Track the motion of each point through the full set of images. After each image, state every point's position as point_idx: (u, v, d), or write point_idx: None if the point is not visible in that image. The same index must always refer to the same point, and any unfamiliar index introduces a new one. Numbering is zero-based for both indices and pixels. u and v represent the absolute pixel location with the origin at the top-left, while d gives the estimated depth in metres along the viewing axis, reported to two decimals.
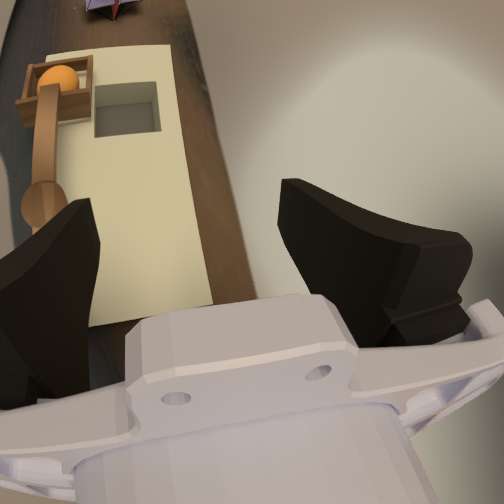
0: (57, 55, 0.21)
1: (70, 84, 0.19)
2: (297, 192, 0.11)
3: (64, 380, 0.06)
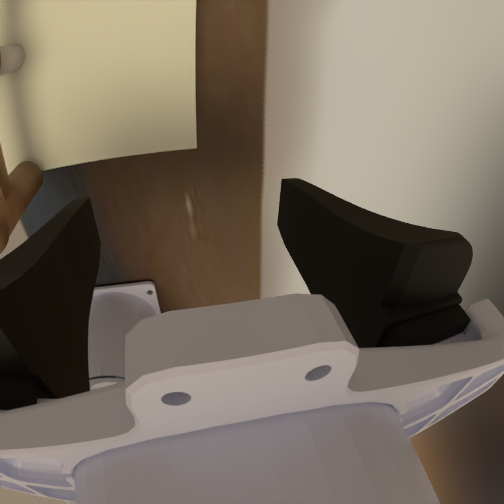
0: None
1: None
2: (298, 192, 0.11)
3: (64, 380, 0.06)
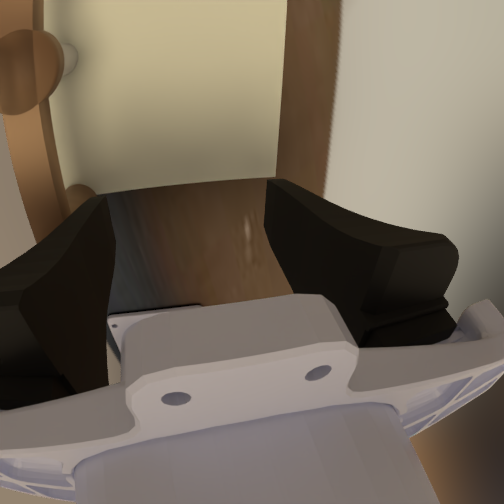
0: None
1: None
2: (281, 193, 0.10)
3: (86, 379, 0.06)
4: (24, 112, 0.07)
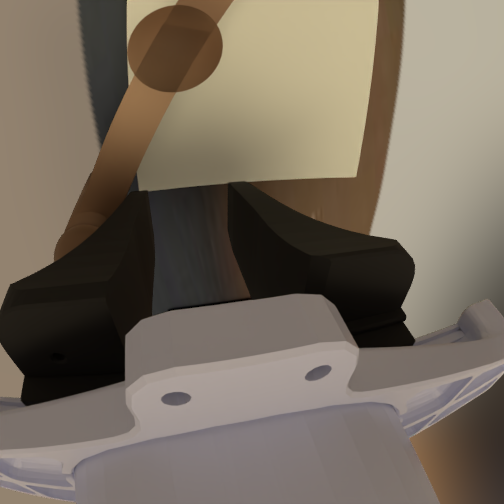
0: None
1: None
2: (237, 196, 0.10)
3: None
4: (157, 90, 0.08)
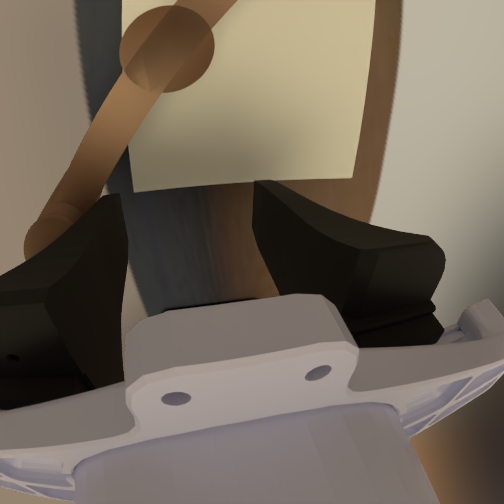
0: None
1: None
2: (267, 194, 0.10)
3: (106, 378, 0.07)
4: (144, 88, 0.08)
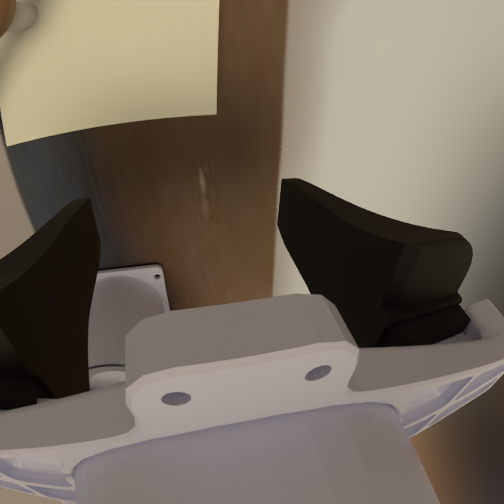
0: None
1: None
2: (297, 192, 0.11)
3: (64, 380, 0.06)
4: None
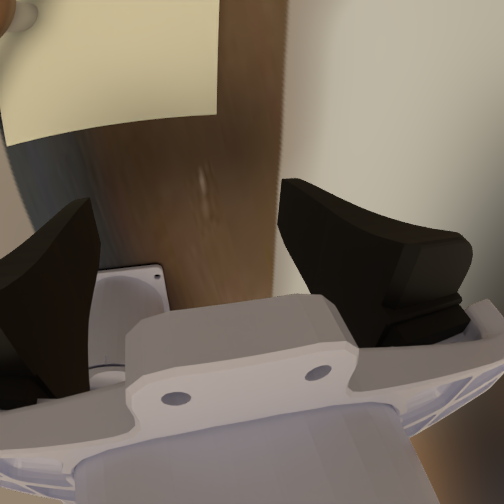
0: None
1: None
2: (297, 192, 0.11)
3: (64, 380, 0.06)
4: None
